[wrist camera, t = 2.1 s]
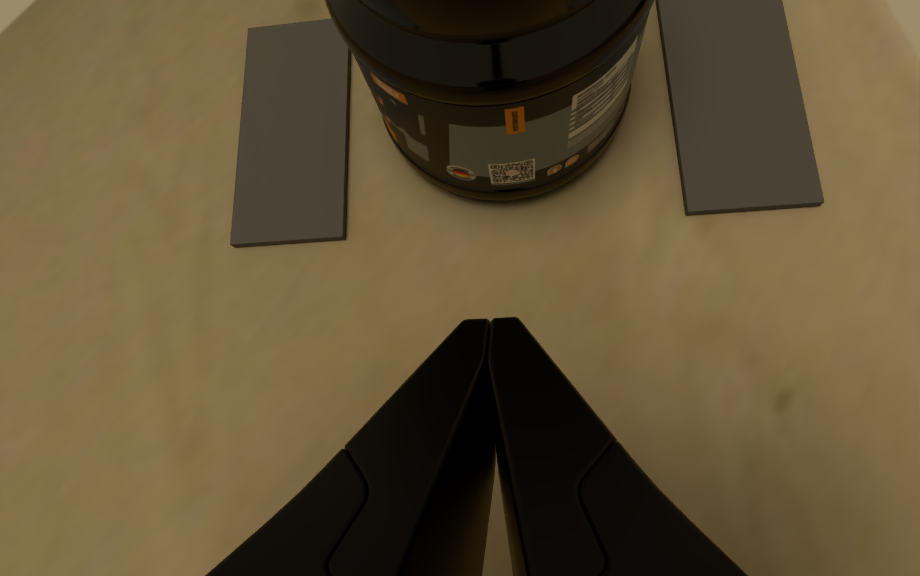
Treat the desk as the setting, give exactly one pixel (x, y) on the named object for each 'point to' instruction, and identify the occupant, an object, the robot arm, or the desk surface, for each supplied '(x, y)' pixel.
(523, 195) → the supplement container
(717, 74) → the pads
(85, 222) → the desk surface
